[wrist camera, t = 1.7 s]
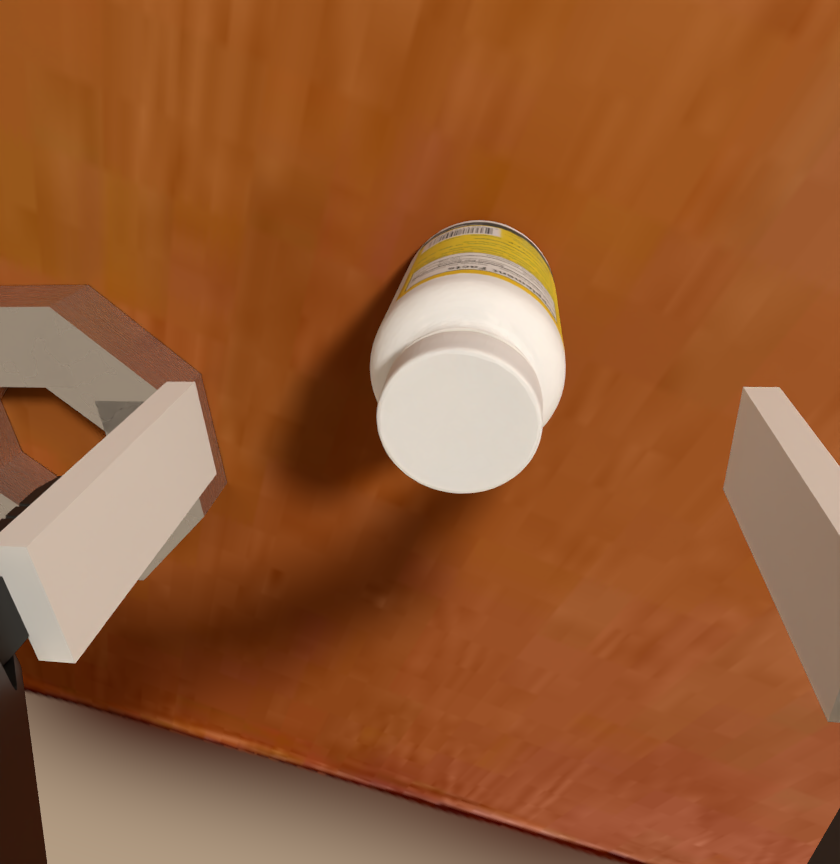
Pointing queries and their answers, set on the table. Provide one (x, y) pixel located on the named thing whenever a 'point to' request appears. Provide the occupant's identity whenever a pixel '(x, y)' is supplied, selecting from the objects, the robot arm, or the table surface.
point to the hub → (86, 379)
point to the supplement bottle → (469, 359)
